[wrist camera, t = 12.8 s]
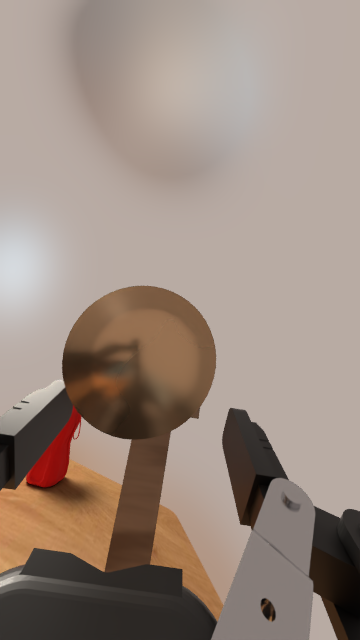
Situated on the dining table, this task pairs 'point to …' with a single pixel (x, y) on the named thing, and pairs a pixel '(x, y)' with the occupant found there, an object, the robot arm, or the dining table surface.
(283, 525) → the robot arm
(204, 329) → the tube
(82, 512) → the dining table surface
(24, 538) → the dining table surface
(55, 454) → the water bottle
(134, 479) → the wooden pedestal stand
